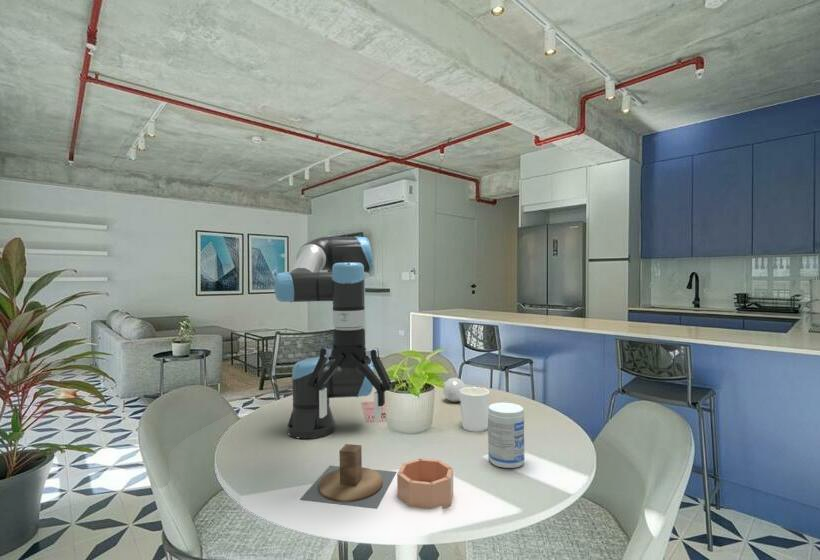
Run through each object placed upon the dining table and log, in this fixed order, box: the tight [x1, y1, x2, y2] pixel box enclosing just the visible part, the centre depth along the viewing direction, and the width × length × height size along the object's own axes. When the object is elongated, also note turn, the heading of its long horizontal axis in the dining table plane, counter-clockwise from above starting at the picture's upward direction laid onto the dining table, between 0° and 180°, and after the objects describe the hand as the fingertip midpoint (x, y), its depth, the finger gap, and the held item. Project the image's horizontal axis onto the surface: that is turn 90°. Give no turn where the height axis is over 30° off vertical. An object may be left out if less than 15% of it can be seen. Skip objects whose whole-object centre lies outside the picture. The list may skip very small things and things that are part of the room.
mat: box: [299, 465, 398, 510], centre depth 100 cm, size 18×17×1 cm
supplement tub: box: [487, 402, 525, 469], centre depth 114 cm, size 10×10×15 cm
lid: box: [319, 443, 383, 502], centre depth 100 cm, size 15×15×9 cm
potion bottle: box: [442, 376, 482, 403], centre depth 167 cm, size 9×10×15 cm
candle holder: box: [459, 386, 491, 433], centre depth 139 cm, size 10×10×12 cm
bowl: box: [396, 458, 454, 510], centre depth 96 cm, size 12×12×6 cm
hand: (350, 418), depth 100 cm, fingers open, 13 cm apart
